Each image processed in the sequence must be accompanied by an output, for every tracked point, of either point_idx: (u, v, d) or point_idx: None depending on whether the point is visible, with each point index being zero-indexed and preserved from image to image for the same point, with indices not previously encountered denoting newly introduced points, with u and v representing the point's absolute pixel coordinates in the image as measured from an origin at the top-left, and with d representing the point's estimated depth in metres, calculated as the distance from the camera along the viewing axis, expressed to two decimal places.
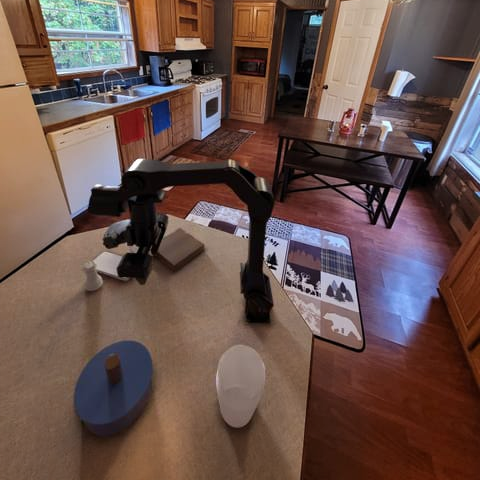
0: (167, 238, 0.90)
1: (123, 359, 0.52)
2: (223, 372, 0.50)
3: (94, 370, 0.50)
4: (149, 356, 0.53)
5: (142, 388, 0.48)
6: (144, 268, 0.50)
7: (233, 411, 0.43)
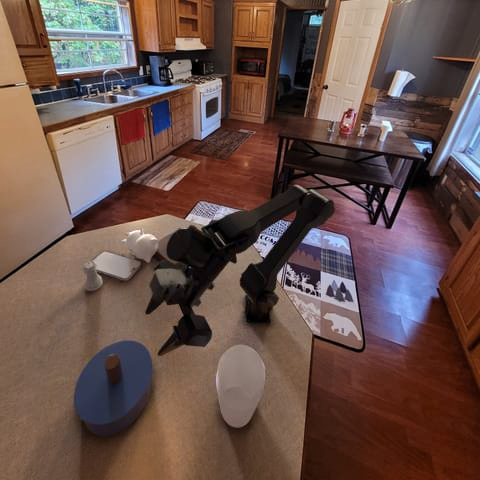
0: (167, 238, 0.90)
1: (123, 359, 0.52)
2: (223, 372, 0.50)
3: (94, 370, 0.50)
4: (149, 356, 0.53)
5: (142, 388, 0.48)
6: (211, 335, 0.46)
7: (233, 411, 0.43)
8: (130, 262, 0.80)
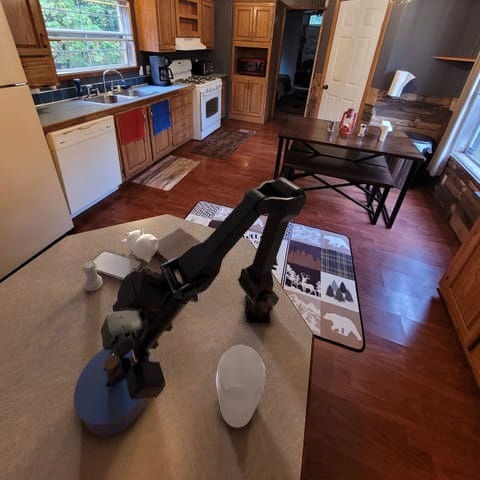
0: (167, 238, 0.90)
1: None
2: (223, 372, 0.50)
3: (94, 370, 0.50)
4: None
5: None
6: (164, 384, 0.43)
7: (233, 411, 0.43)
8: (130, 262, 0.80)
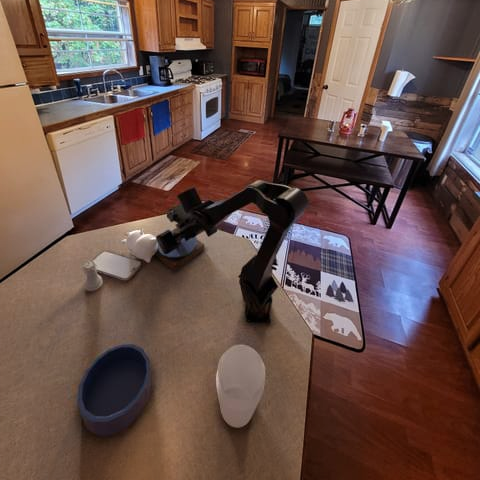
0: None
1: (186, 241, 0.87)
2: (223, 372, 0.50)
3: None
4: (190, 251, 0.83)
5: (174, 255, 0.81)
6: (167, 251, 0.74)
7: (233, 411, 0.43)
8: (130, 262, 0.80)
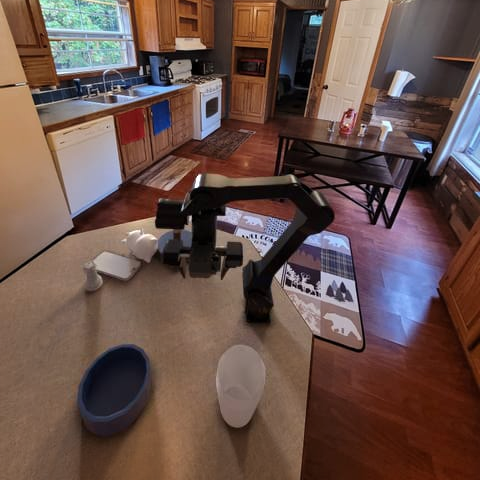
0: None
1: (186, 241, 0.87)
2: (223, 372, 0.50)
3: None
4: None
5: None
6: None
7: (233, 411, 0.43)
8: (130, 262, 0.80)
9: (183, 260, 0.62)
